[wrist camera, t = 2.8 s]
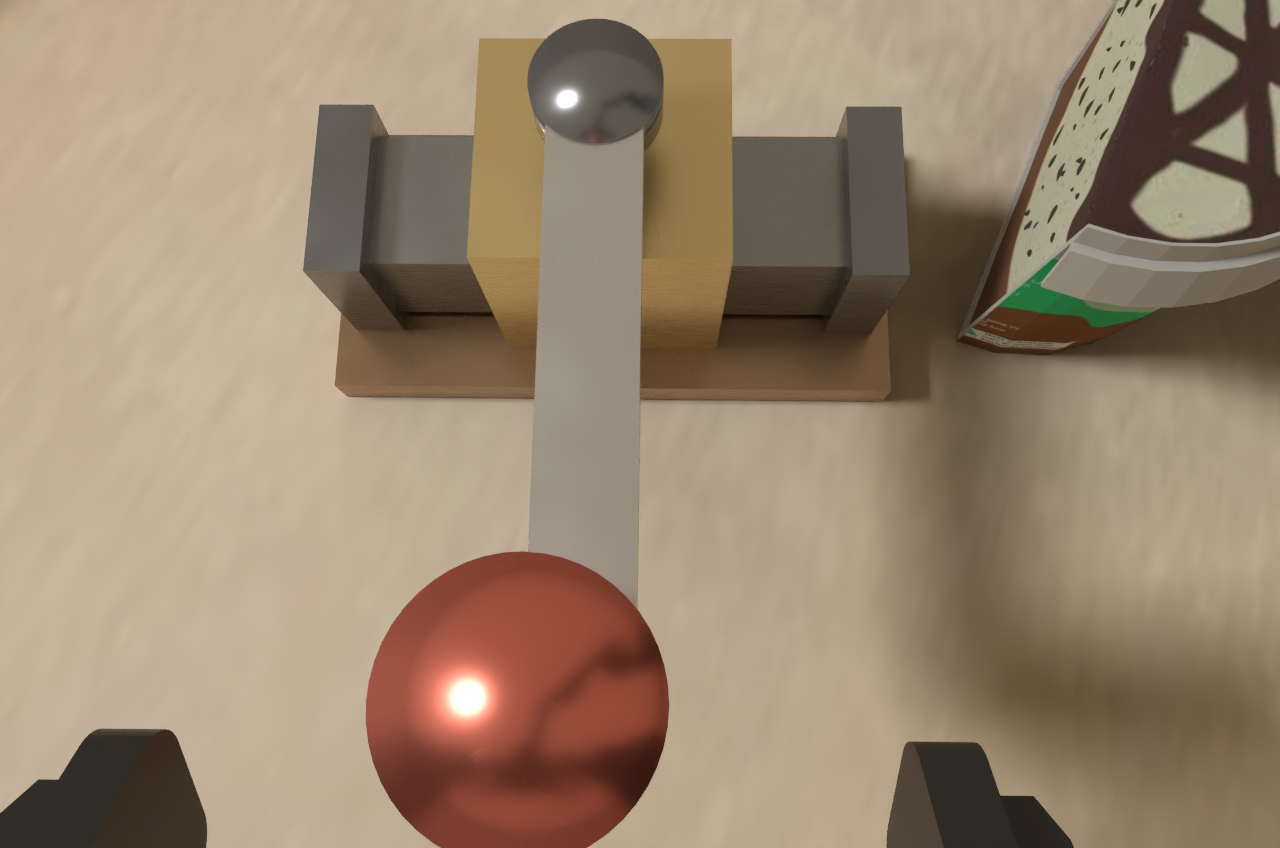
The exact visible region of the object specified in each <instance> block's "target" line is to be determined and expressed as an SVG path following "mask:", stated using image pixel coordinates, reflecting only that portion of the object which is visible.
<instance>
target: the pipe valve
mask: <svg viewBox="0 0 1280 848" xmlns="http://www.w3.org/2000/svg"><path fill="white" fill-rule="evenodd" d="M544 40H545V39H480V40H479V57H478V74H477V91H476V108H475V125H474V136H466V135H389V134H388V132H387V130H386V128H385V127H384V125H383V123H382V121H381V119H380V117H379V115H378V113H377V111H376V109H375V107H374V105H320V107H319V117H318V127H317V137H316V147H315V157H314V167H313V177H312V187H311V197H310V208H309V218H308V228H307V238H306V248H305V258H304V268H303V271H304V272H305V274H306V275H307V276H308V277H309V278H310V279H311V280H312V281H313V282H314V283H315V284H316V286H317V287H318V288H319V289H320V290H321V291H322V292H323V293H324V294H325V295H326V297H327V298H328V299H329V300H330V301H331V302H332V303H333V304H334V305H335V306H336V308H337V309H338V310H339V311H340V312H341V322H340V333H339V345H338V356H337V367H336V378H335V386H336V387H337V388H338V389H339V390H341V391H342V392H343V393H344V394H345V395H347V396H363V397H470V398H534V397H535V372H536V348H537V323H538V298H539V273H540V248H541V223H542V198H543V174H544V149H545V143H544V142H543V141H542V139H541V137H540V135H539V133H538V130H537V127H536V124H535V119H534V115H533V110H532V106H531V102H530V97H529V92H528V87H527V76H528V69H529V66H530V62H531V60H532V58H533V55H534V54H535V52H536V50H537V49H538V47H539V46H540V45H541V44H542V42H543V41H544ZM647 40H648V41H649V42H650V43H651V44H652V45H653V47H654V48H655V50H656V52H657V53H658V55H659V58H660V60H661V63H662V68H663V76H664V95H663V119H662V123H661V127H660V130H659V132H658V134H657V136H656V138H655V140H654V141H653V142H652V144H651V145H650V146H649V147H648V148H647V149H646V150H645V151H644V197H643V266H642V335H641V399H682V400H788V401H883V400H884V398H885V397H886V396H887V395H888V394H889V393H890V392H891V375H890V353H889V332H888V310H887V309H888V308H889V306H890V305H891V303H892V302H893V300H894V299H895V297H896V296H897V294H898V293H899V291H900V290H901V288H902V287H903V285H904V284H905V282H906V281H907V279H908V278H909V276H910V264H909V245H908V226H907V207H906V188H905V169H904V150H903V131H902V112H901V107H846V109H845V112H844V115H843V118H842V121H841V124H840V127H839V130H838V133H837V135H836V137H732V68H731V39H647Z"/></svg>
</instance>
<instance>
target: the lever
mask: <svg viewBox="0 0 1280 848" xmlns="http://www.w3.org/2000/svg"><path fill="white" fill-rule="evenodd" d="M527 87H528V92H529V97H530V102H531V106H532V110H533V115H534V119H535V124H536V127H537V130H538V133H539V135H540V137H541V139H542V141H543V142H544V143H545V149H544V174H543V198H542V223H541V248H540V273H539V298H538V323H537V348H536V372H535V397H534V422H533V447H532V472H531V497H530V522H529V546H528V552H506V553H499V554H494V555H489V556H484V557H481V558H478V559H475V560H472V561H469V562H466V563H464V564H462V565H460V566H458V567H456V568H453V569H451V570H449V571H448V572H446V573H444V574H443V575H441V576H440V577H438V578H437V579H435V580H434V581H432V582H431V583H430V584H429V585H427V586H426V587H425V588H424V589H422V590H421V591H420V592H419V593H418V594H417V595H416V596H415V597H414V598H413V599H412V600H411V601H410V602H409V603H408V604H407V605H406V606H405V607H404V609H403V610H402V611H401V613H400V614H399V615H398V617H397V618H396V620H395V621H394V622H393V624H392V625H391V627H390V629H389V631H388V632H387V634H386V636H385V638H384V640H383V641H382V644H381V646H380V649H379V651H378V653H377V656H376V658H375V661H374V664H373V668H372V672H371V676H370V679H369V685H368V692H367V700H366V727H367V735H368V743H369V747H370V751H371V755H372V760H373V763H374V766H375V768H376V771H377V773H378V776H379V779H380V781H381V783H382V785H383V787H384V789H385V790H386V792H387V794H388V796H389V798H390V799H391V801H392V802H393V804H394V805H395V806H396V808H397V809H398V810H399V812H400V813H401V814H402V816H403V817H404V818H405V819H406V820H407V821H408V822H409V823H410V824H411V825H412V826H413V827H414V828H415V829H416V830H417V831H418V832H419V833H421V834H422V835H423V836H425V837H426V838H427V839H429V840H430V841H431V842H432V843H434V844H436V845H437V846H439V847H441V848H587V847H589V846H590V845H592V844H593V843H595V842H596V841H598V840H599V839H600V838H602V837H603V836H605V835H606V834H608V833H609V832H610V831H611V830H612V829H613V828H614V827H615V826H616V825H618V824H619V823H620V822H621V821H622V820H623V819H624V818H625V816H626V815H627V814H628V813H629V812H630V811H631V809H632V808H633V807H634V806H635V805H636V803H637V802H638V800H639V799H640V797H641V796H642V794H643V793H644V791H645V790H646V788H647V787H648V785H649V782H650V780H651V778H652V776H653V774H654V772H655V770H656V768H657V765H658V762H659V759H660V756H661V753H662V750H663V747H664V742H665V737H666V732H667V727H668V713H669V697H668V684H667V678H666V673H665V667H664V663H663V660H662V657H661V654H660V651H659V648H658V645H657V643H656V641H655V639H654V637H653V635H652V632H651V630H650V628H649V627H648V625H647V623H646V622H645V620H644V619H643V617H642V616H641V614H640V612H639V611H638V543H639V474H640V405H641V335H642V266H643V197H644V151H645V150H646V149H647V148H648V147H649V146H650V145H651V144H652V142H653V141H654V140H655V138H656V136H657V134H658V132H659V130H660V127H661V123H662V119H663V95H664V76H663V68H662V63H661V60H660V58H659V55H658V53H657V52H656V50H655V48H654V47H653V45H652V44H651V43H650V42H649V41H648V40H647V39H646V38H645V36H643V35H642V34H641V33H639V32H638V31H637V30H635V29H633V28H632V27H630V26H628V25H625V24H623V23H620V22H616V21H612V20H607V19H587V20H581V21H577V22H574V23H571V24H568V25H566V26H564V27H562V28H560V29H558V30H556V31H555V32H554V33H552V34H551V35H550V36H548V37H547V38H546V39H545V40H544V41H543V42H542V44H541V45H540V46H539V47H538V49H537V50H536V52H535V54H534V55H533V58H532V60H531V62H530V66H529V69H528V76H527Z"/></svg>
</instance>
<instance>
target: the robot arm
mask: <svg viewBox="0 0 1280 848" xmlns="http://www.w3.org/2000/svg"><path fill="white" fill-rule="evenodd" d="M206 842H207V823H206V817H205V813H204V810H203V807H202V805H201V802H200V799H199V797H198V794H197V791H196V788H195V786H194V783H193V780H192V777H191V775H190V772H189V769H188V767H187V764H186V761H185V758H184V756H183V753H182V750H181V747H180V745H179V742H178V740H177V738H176V736H175V735H174V733H173V732H171V731H170V730H166V729H98V730H95V731H93V732H92V733H91V734H89V735H88V736H87V737H86V738H85V739H84V741H83V742H82V743H81V745H80V746H79V748H78V749H77V751H76V753H75V754H74V756H73V757H72V759H71V761H70V762H69V764H68V765H67V767H66V769H65V770H64V772H63V773H62V775H61V777H60V778H59V780H38V781H36V782H35V783H34V784H33V785H32V786H31V787H30V788H28V789H27V790H26V791H25V792H24V793H23V794H22V795H21V796H19V797H18V798H17V799H16V800H15V801H14V802H13V803H12V804H10V805H9V806H8V807H7V808H6V809H5V810H4V811H2V812H1V813H0V848H206ZM887 848H1074V847H1073V845H1072V842H1071V840H1070V839H1069V838H1068V836H1067V835H1066V834H1065V833H1064V832H1063V830H1062V829H1061V828H1060V827H1059V826H1058V825H1057V823H1056V822H1055V821H1054V820H1053V819H1052V817H1051V816H1050V815H1049V814H1048V813H1047V812H1046V810H1045V809H1044V808H1043V807H1042V806H1041V805H1040V803H1039V802H1038V801H1037V800H1036V799H1035V797H1034V796H1000V794H999V791H998V788H997V785H996V782H995V780H994V777H993V774H992V771H991V768H990V765H989V762H988V759H987V757H986V754H985V752H984V750H983V749H982V747H981V746H980V745H979V744H978V743H973V742H907V743H906V745H905V747H904V750H903V754H902V759H901V764H900V769H899V774H898V779H897V784H896V789H895V794H894V799H893V804H892V809H891V814H890V819H889V824H888V830H887Z"/></svg>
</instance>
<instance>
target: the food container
mask: <svg viewBox="0 0 1280 848" xmlns="http://www.w3.org/2000/svg"><path fill="white" fill-rule="evenodd" d="M1279 279H1280V0H1113V2H1112V3H1111V5H1110V6H1109V8H1108V9H1107V11H1106V12H1105V14H1104V15H1103V17H1102V18H1101V20H1100V21H1099V23H1098V24H1097V26H1096V27H1095V29H1094V30H1093V32H1092V33H1091V35H1090V36H1089V38H1088V40H1087V41H1086V43H1085V44H1084V46H1083V47H1082V49H1081V50H1080V52H1079V53H1078V55H1077V56H1076V58H1075V59H1074V61H1073V62H1072V64H1071V65H1070V67H1069V68H1068V70H1067V71H1066V73H1065V74H1064V76H1063V77H1062V79H1061V80H1060V82H1059V84H1058V85H1057V87H1056V89H1055V91H1054V94H1053V96H1052V99H1051V101H1050V104H1049V106H1048V109H1047V111H1046V114H1045V117H1044V119H1043V122H1042V124H1041V127H1040V129H1039V132H1038V134H1037V137H1036V140H1035V142H1034V145H1033V147H1032V150H1031V152H1030V155H1029V157H1028V160H1027V162H1026V165H1025V168H1024V170H1023V173H1022V175H1021V178H1020V180H1019V183H1018V185H1017V188H1016V191H1015V193H1014V196H1013V198H1012V201H1011V203H1010V206H1009V208H1008V211H1007V213H1006V216H1005V219H1004V221H1003V224H1002V226H1001V229H1000V231H999V234H998V236H997V239H996V242H995V244H994V247H993V249H992V252H991V254H990V257H989V259H988V262H987V264H986V267H985V270H984V272H983V275H982V277H981V280H980V282H979V285H978V287H977V290H976V293H975V295H974V298H973V300H972V303H971V305H970V308H969V310H968V313H967V315H966V318H965V321H964V323H963V326H962V328H961V331H960V333H959V336H958V338H957V341H959V342H962V343H965V344H968V345H972V346H975V347H978V348H981V349H984V350H987V351H991V352H994V353H1014V354H1034V355H1048V354H1051V353H1055V352H1059V351H1063V350H1067V349H1071V348H1075V347H1079V346H1083V345H1086V344H1090V343H1094V342H1096V341H1098V340H1100V339H1101V338H1103V337H1105V336H1107V335H1109V334H1111V333H1113V332H1115V331H1117V330H1119V329H1121V328H1123V327H1125V326H1127V325H1129V324H1131V323H1133V322H1135V321H1136V320H1138V319H1140V318H1142V317H1144V316H1146V315H1148V314H1150V313H1152V312H1154V311H1156V310H1158V309H1160V308H1174V307H1182V306H1190V305H1197V304H1205V303H1213V302H1218V301H1221V300H1225V299H1228V298H1231V297H1235V296H1238V295H1242V294H1245V293H1249V292H1252V291H1255V290H1258V289H1260V288H1262V287H1264V286H1266V285H1268V284H1271V283H1273V282H1275V281H1277V280H1279Z"/></svg>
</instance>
